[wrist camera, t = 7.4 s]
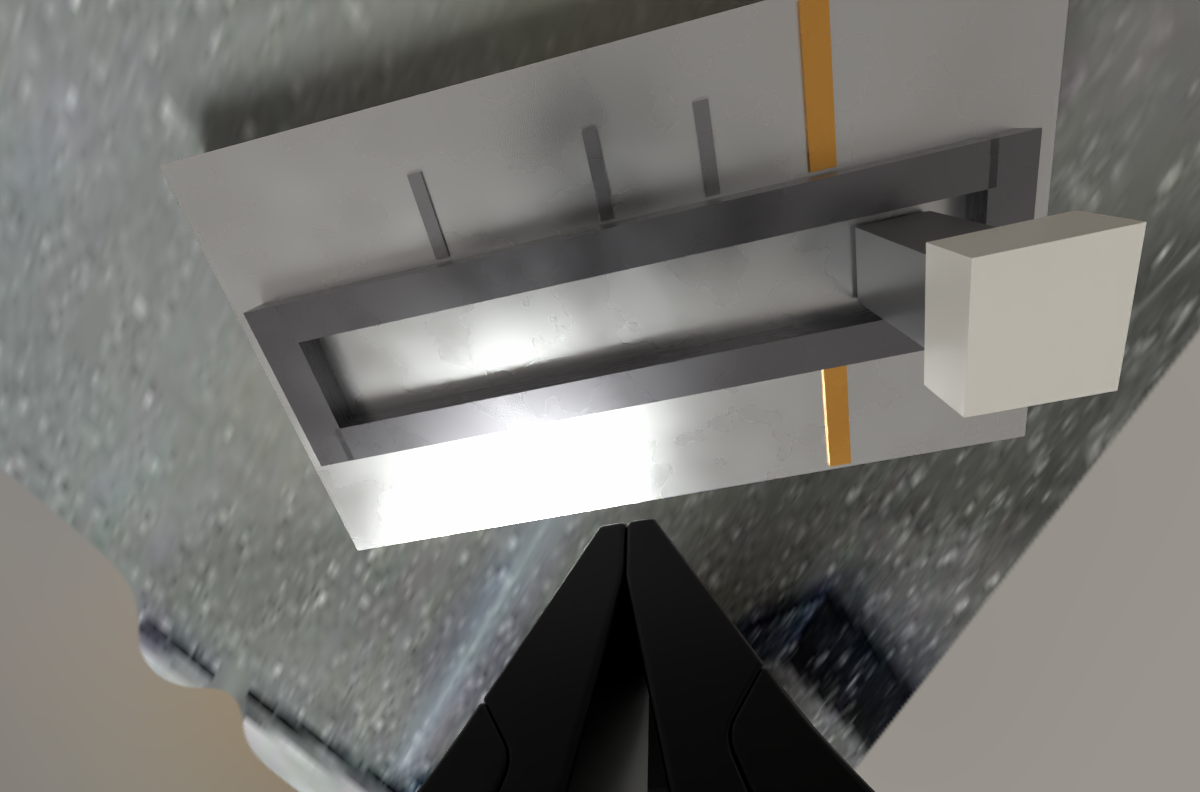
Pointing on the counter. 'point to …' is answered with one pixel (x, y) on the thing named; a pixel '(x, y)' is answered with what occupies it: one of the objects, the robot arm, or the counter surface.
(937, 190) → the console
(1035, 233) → the fader tab
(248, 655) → the counter surface
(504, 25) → the counter surface
